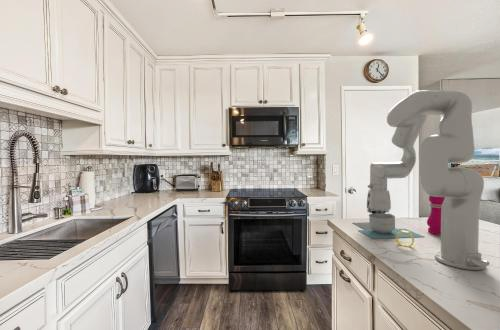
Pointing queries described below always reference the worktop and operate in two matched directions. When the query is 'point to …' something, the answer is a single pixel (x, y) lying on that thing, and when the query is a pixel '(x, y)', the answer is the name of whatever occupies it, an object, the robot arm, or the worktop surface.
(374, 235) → the t mat
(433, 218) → the pepper mill
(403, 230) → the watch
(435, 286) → the worktop surface
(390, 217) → the teacup
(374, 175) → the robot arm
